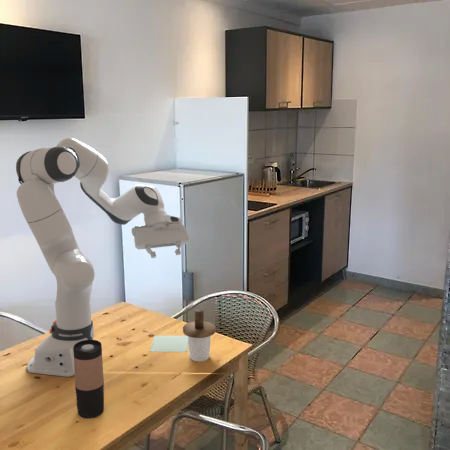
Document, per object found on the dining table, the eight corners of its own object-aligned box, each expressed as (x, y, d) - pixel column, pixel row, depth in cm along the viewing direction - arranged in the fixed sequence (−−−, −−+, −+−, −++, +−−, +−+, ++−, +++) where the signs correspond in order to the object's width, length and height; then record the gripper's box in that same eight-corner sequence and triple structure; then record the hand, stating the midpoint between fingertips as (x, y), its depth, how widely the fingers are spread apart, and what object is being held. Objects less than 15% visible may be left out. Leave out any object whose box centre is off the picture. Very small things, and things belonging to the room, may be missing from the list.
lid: (182, 338, 164) (182, 317, 162) (183, 324, 175) (183, 305, 173) (216, 337, 165) (216, 317, 163) (214, 324, 175) (214, 304, 174)
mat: (149, 352, 175) (149, 351, 175) (154, 336, 188) (154, 335, 188) (186, 353, 175) (186, 351, 175) (189, 337, 188) (189, 335, 188)
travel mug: (83, 402, 145) (79, 338, 140) (109, 404, 144) (106, 340, 139) (72, 418, 137) (67, 350, 133) (98, 420, 136) (95, 352, 132)
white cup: (207, 364, 167) (207, 336, 165) (185, 362, 169) (184, 334, 167) (213, 353, 175) (213, 327, 173) (191, 351, 176) (191, 325, 174)
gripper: (131, 221, 182) (140, 254, 175) (184, 217, 190) (194, 248, 184) (129, 231, 187) (137, 263, 180) (180, 226, 195) (189, 257, 189)
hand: (166, 255), depth 182 cm, fingers open, 8 cm apart
